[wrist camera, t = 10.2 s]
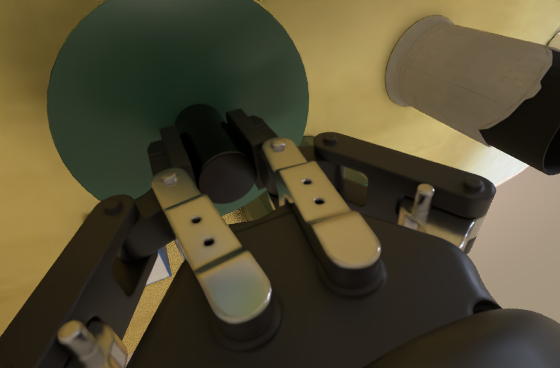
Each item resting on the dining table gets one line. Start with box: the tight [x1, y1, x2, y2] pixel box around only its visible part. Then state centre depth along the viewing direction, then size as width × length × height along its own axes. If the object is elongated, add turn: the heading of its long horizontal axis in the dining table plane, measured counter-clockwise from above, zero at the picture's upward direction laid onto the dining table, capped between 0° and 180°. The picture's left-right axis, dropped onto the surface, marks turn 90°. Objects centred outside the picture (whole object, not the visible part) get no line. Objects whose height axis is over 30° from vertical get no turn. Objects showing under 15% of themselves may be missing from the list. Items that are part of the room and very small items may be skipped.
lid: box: [47, 0, 309, 216], centre depth 15 cm, size 12×12×6 cm
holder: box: [385, 15, 560, 175], centre depth 28 cm, size 9×14×15 cm, turn 57°
